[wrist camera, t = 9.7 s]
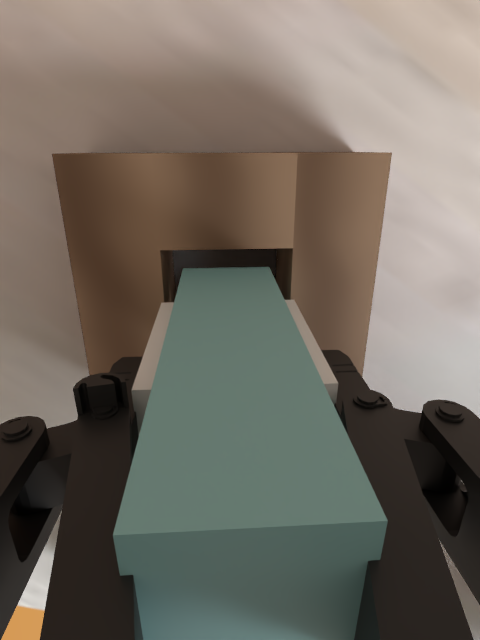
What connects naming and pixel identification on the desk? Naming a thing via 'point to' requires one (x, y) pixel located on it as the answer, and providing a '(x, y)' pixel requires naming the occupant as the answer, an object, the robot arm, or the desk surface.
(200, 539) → the peg
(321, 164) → the socket block
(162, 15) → the desk surface
